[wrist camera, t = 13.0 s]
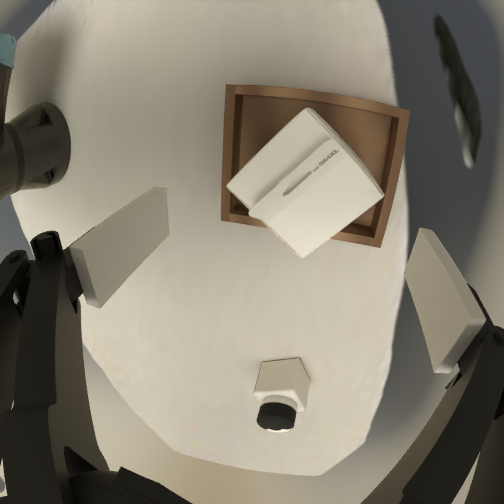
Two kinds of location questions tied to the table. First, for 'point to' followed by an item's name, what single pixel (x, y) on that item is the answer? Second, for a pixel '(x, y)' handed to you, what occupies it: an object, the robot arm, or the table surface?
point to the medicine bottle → (281, 393)
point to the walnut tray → (340, 119)
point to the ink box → (306, 184)
